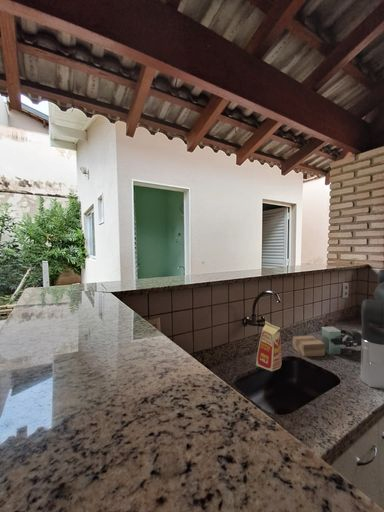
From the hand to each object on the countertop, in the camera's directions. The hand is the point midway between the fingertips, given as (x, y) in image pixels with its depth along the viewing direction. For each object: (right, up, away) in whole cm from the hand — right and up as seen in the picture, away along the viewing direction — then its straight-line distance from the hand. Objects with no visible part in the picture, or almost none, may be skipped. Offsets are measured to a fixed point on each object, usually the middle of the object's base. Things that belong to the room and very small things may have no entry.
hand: (328, 339), depth 123 cm
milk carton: (-35, -7, -13) cm, 38 cm away
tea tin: (+1, -7, 0) cm, 7 cm away
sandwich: (-10, -6, +1) cm, 12 cm away
